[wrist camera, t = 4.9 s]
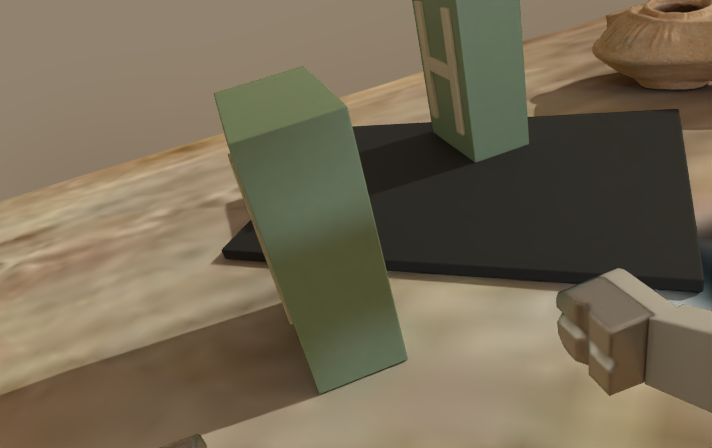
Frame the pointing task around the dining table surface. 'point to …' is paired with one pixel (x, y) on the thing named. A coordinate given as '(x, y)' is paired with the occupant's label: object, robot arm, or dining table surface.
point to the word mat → (533, 202)
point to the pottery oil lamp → (660, 43)
